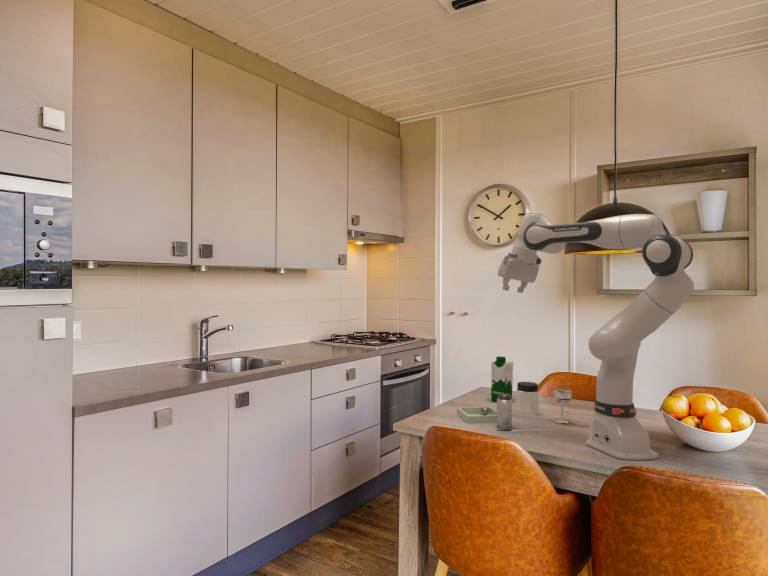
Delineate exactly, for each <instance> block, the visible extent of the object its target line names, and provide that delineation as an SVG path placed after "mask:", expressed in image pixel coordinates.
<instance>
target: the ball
mask: <svg viewBox="0 0 768 576" xmlns="http://www.w3.org/2000/svg"><path fill="white" fill-rule="evenodd" d="M483 407H484V408H482V409H481V413H482V414H483V415H487V414H488V413H489V410H488V408H486V407H487V406H483Z"/></svg>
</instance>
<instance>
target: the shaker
mask: <svg viewBox="0 0 768 576" xmlns="http://www.w3.org/2000/svg"><path fill="white" fill-rule="evenodd" d="M496 411H497V423H496V428H497V429H498V431H500V432H512V431H513V430H512V428H513V398H512V399H511V395H510V394H504V393H502V394H499V395H498V398H497V402H496Z"/></svg>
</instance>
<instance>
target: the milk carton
mask: <svg viewBox="0 0 768 576" xmlns="http://www.w3.org/2000/svg"><path fill="white" fill-rule="evenodd" d="M490 364H491V372H490V373H491V374H490V375H491V377H490V379H491V380H490V382H491V383H490V395H491V396H490V398H491V401H492V402H493V403H497V398H498V395H499V394H502V393H504V394H510V395H511V399H512V400H513V381H514V377H513V374H514V373H513V372H514V371H513V370H514V361H513V360H506V356H496V358H495V360H492V361H491V363H490Z"/></svg>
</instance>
